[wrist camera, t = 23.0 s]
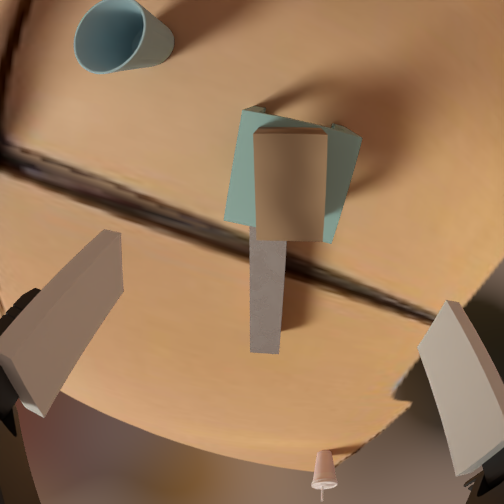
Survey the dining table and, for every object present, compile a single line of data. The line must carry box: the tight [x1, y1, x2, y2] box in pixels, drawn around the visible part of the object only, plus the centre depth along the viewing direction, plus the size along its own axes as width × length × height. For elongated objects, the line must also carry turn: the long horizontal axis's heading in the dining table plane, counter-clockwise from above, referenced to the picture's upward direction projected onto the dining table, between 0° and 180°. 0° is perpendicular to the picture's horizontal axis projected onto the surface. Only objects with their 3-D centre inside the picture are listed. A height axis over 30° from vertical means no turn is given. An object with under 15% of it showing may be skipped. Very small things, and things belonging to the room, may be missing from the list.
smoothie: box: [311, 450, 338, 501], centre depth 60 cm, size 6×6×14 cm
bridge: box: [224, 106, 362, 244], centre depth 30 cm, size 10×10×10 cm
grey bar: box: [250, 226, 287, 354], centre depth 39 cm, size 4×24×5 cm, turn 0°
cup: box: [74, 0, 174, 74], centre depth 25 cm, size 8×8×10 cm
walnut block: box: [253, 127, 328, 242], centre depth 24 cm, size 5×8×4 cm, turn 2°
